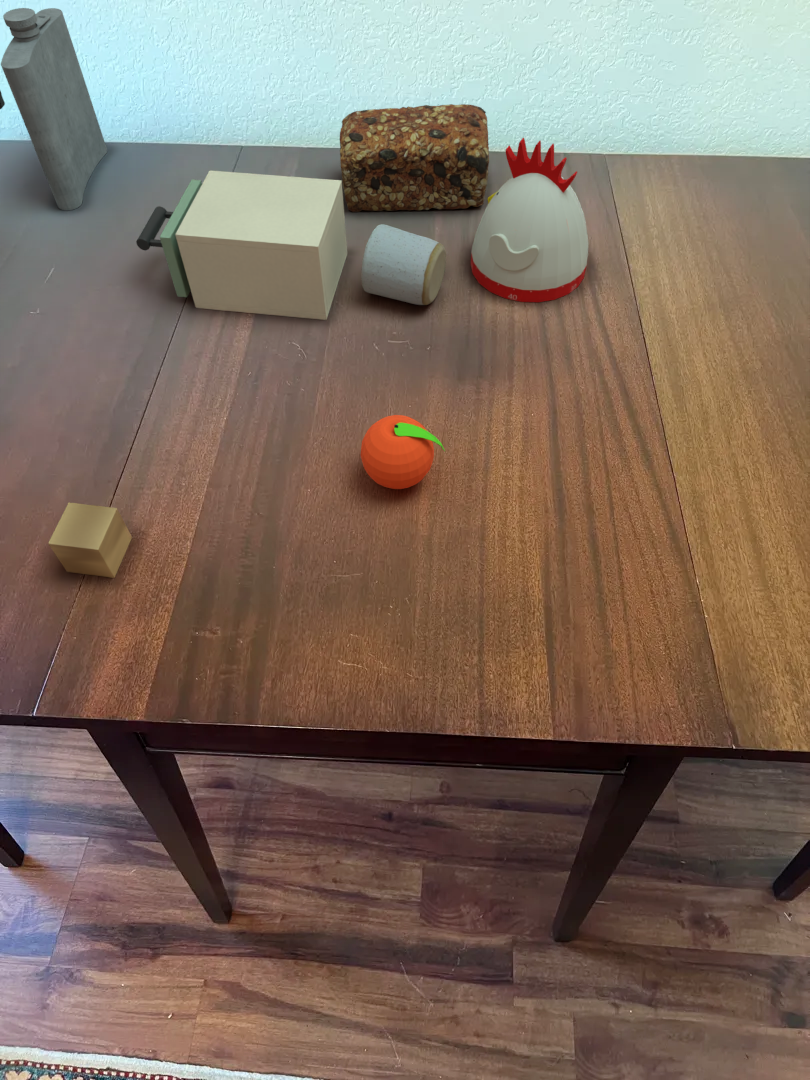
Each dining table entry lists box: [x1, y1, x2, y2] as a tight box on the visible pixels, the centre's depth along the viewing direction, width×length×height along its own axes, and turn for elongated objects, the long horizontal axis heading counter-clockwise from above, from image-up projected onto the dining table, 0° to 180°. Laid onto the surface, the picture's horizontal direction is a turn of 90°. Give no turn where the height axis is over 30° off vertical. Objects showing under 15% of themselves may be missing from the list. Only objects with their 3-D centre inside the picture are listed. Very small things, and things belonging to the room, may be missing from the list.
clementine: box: [360, 414, 446, 490], centre depth 73 cm, size 8×7×7 cm
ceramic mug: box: [361, 223, 447, 306], centre depth 90 cm, size 11×8×8 cm
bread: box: [339, 103, 490, 213], centre depth 100 cm, size 19×11×10 cm, turn 90°
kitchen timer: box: [470, 137, 589, 303], centre depth 89 cm, size 14×14×15 cm
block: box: [47, 502, 133, 579], centre depth 69 cm, size 4×4×4 cm
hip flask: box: [0, 7, 108, 211], centre depth 99 cm, size 16×4×20 cm, turn 178°
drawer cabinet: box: [175, 170, 348, 321], centre depth 90 cm, size 16×13×10 cm
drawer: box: [136, 179, 203, 298], centre depth 90 cm, size 19×11×8 cm, turn 81°
